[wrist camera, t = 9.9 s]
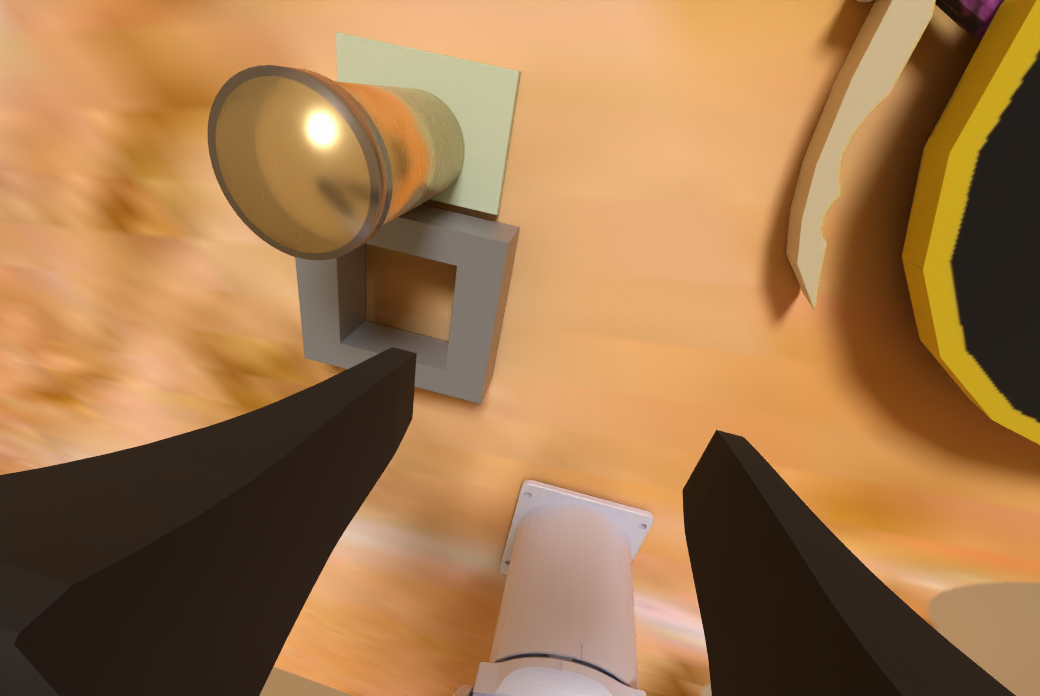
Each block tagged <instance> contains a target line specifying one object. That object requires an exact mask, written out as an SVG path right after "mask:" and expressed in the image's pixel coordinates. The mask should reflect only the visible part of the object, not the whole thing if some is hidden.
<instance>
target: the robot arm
mask: <svg viewBox="0 0 1040 696" xmlns="http://www.w3.org/2000/svg"><path fill="white" fill-rule="evenodd" d="M416 356H417V353H414V352H410V351H406V350H402V349H398V348H394V347H392V348H389V349H387V350H385V351H383V352H381V353H379V354H377V355H375V356H373V357H371V358H369V359H367V360H365V361H363V362H361V363H359V364H357V365H355V366H353V367H351V368H349V369H347V370H345V371H343V372H341V373H339V374H337V375H335V376H333V377H331V378H329V379H327V380H325V381H323V382H321V383H319V384H316V385H314V386H312V387H309V388H307V389H305V390H303V391H300V392H298V393H296V394H293V395H291V396H289V397H287V398H284V399H282V400H280V401H277V402H275V403H273V404H270V405H268V406H265V407H262V408H260V409H257V410H255V411H252V412H249V413H246V414H244V415H241V416H238V417H235V418H232V419H229V420H226V421H223V422H221V423H218V424H214V425H211V426H208V427H205V428H201V429H198V430H195V431H191V432H188V433H184V434H181V435H177V436H174V437H170V438H167V439H163V440H160V441H156V442H153V443H149V444H146V445H142V446H138V447H134V448H130V449H125V450H121V451H117V452H113V453H109V454H105V455H100V456H96V457H91V458H86V459H82V460H77V461H73V462H68V463H63V464H58V465H53V466H49V467H44V468H38V469H33V470H27V471H22V472H16V473H10V474H5V475H0V696H259V695H260V693H261V691H262V689H263V687H264V684H265V683H266V681H267V678H268V676H269V674H270V672H271V670H272V668H273V666H274V664H275V662H276V660H277V658H278V656H279V654H280V652H281V650H282V648H283V645H284V643H285V641H286V639H287V637H288V635H289V633H290V631H291V629H292V628H293V626H294V624H295V622H296V620H297V618H298V616H299V614H300V612H301V610H302V608H303V606H304V604H305V602H306V600H307V598H308V596H309V594H310V592H311V590H312V588H313V586H314V585H315V583H316V581H317V579H318V577H319V575H320V573H321V571H322V569H323V568H324V566H325V564H326V562H327V560H328V558H329V556H330V554H331V553H332V551H333V549H334V547H335V546H336V544H337V542H338V541H339V539H340V537H341V536H342V534H343V532H344V531H345V529H346V528H347V526H348V525H349V523H350V522H351V520H352V519H353V517H354V516H355V514H356V513H357V511H358V510H359V508H360V507H361V505H362V503H363V502H364V500H365V499H366V497H367V496H368V494H369V493H370V491H371V490H372V488H373V487H374V485H375V484H376V482H377V481H378V479H379V478H380V476H381V475H382V473H383V472H384V470H385V468H386V467H387V465H388V464H389V462H390V461H391V459H392V458H393V456H394V454H395V453H396V451H397V449H398V447H399V445H400V443H401V441H402V439H403V437H404V435H405V433H406V431H407V428H408V426H409V424H410V422H411V420H412V415H413V401H414V386H415V371H416ZM526 492H527V493H526ZM528 493H530V494H528ZM683 512H684V526H685V535H686V541H687V546H688V552H689V557H690V562H691V568H692V573H693V578H694V583H695V588H696V593H697V598H698V603H699V608H700V613H701V618H702V624H703V629H704V634H705V640H706V647H707V653H708V660H709V670H710V680H711V690H712V696H1016V695H1014V694H1013V693H1012V692H1010V691H1009V690H1008V689H1007V688H1005V687H1004V686H1003V685H1002V684H1000V683H999V682H998V681H996V679H994V678H993V677H992V676H991V675H989V674H988V673H987V672H986V671H984V670H983V669H982V668H981V667H980V666H978V665H977V664H976V663H975V662H973V661H972V660H971V659H970V658H969V657H967V656H966V655H965V654H964V653H962V652H961V651H960V650H959V649H958V648H956V647H955V646H954V645H953V644H951V643H950V642H949V641H948V640H947V639H946V638H944V637H943V636H942V635H941V634H940V633H939V632H937V631H936V630H935V629H934V628H933V627H932V626H930V625H929V624H928V623H927V622H926V621H925V620H924V619H922V618H921V617H920V616H919V615H918V614H917V613H916V612H915V611H914V610H912V609H911V608H910V607H909V606H908V605H907V604H906V603H905V602H904V601H902V600H901V599H900V598H899V597H898V596H897V595H896V594H895V593H894V592H892V591H891V590H890V589H889V588H888V587H887V586H886V585H885V584H884V583H883V582H882V581H881V580H879V579H878V578H877V577H876V576H875V575H874V574H873V573H872V572H871V571H870V570H869V569H868V568H867V567H866V566H865V565H864V564H863V563H862V562H861V561H860V560H859V559H858V558H857V557H856V556H855V555H854V554H853V553H852V552H851V551H850V550H849V549H848V548H847V547H846V546H845V545H844V544H843V543H842V542H841V541H840V540H839V539H838V538H837V537H836V536H835V535H834V534H833V533H832V532H831V531H830V530H829V529H828V528H827V527H826V526H825V525H824V523H823V522H822V521H821V520H820V519H819V518H818V517H817V516H816V515H815V514H814V513H813V512H812V511H811V510H810V509H809V507H808V506H807V505H806V504H805V503H804V502H803V501H802V500H801V499H800V498H799V497H798V495H797V494H796V493H795V492H794V491H793V490H792V489H791V488H790V487H789V485H788V484H787V483H786V482H785V481H784V480H783V479H782V478H781V477H780V475H779V474H778V473H777V472H776V471H775V470H774V469H773V468H772V467H771V465H770V464H769V463H768V462H767V461H766V460H765V459H764V458H763V457H762V456H761V455H760V453H759V452H758V451H757V450H756V449H755V448H754V447H753V446H752V445H751V444H750V443H749V442H748V441H747V440H746V439H745V438H744V437H742V436H738V435H734V434H730V433H726V432H722V431H718V430H716V432H715V433H714V435H713V437H712V439H711V441H710V442H709V444H708V446H707V448H706V449H705V451H704V453H703V455H702V457H701V458H700V460H699V462H698V464H697V465H696V467H695V469H694V471H693V473H692V474H691V476H690V478H689V480H688V481H687V483H686V485H685V487H684V489H683ZM653 521H654V520H653V515H652V514H651V513H650V512H648V511H645V510H641V509H638V508H634V507H630V506H627V505H623V504H619V503H615V502H612V501H608V500H604V499H601V498H597V497H593V496H590V495H586V494H582V493H578V492H575V491H571V490H567V489H564V488H560V487H556V486H552V485H549V484H545V483H541V482H538V481H534V480H525V481H524V482H523V483H522V487H521V490H520V494H519V498H518V501H517V505H516V509H515V512H514V516H513V520H512V524H511V527H510V531H509V535H508V538H507V542H506V546H505V549H504V553H503V557H502V560H501V564H500V568H499V570H500V572H501V573H502V574H504V575H507V578H506V583H505V588H504V593H503V597H502V602H501V607H500V611H499V616H498V621H497V626H496V630H495V635H494V640H493V644H492V649H491V654H490V659H489V662H480V663H479V667H478V672H477V676H476V680H475V685H474V686H471V685H467V684H464V685H462V686H460V687H459V688H458V689H457V691H456V692H455V694H453V695H452V696H646V692H645V691H644V690H640V689H639V688H638V669H637V651H636V633H635V615H634V596H633V578H632V561H633V559H634V557H635V556H636V554H637V552H638V550H639V548H640V546H641V544H642V543H643V541H644V539H645V537H646V535H647V533H648V532H649V530H650V528H651V526H652V524H653Z"/></svg>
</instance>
